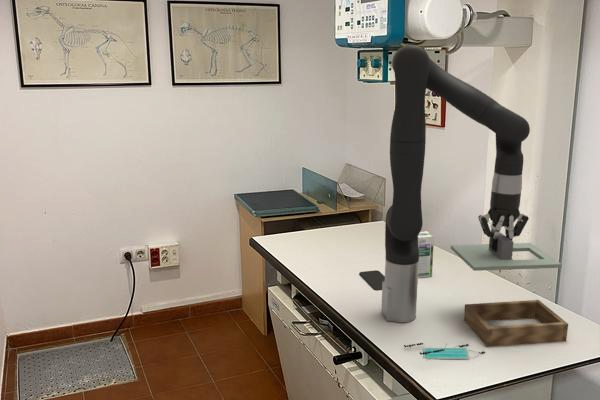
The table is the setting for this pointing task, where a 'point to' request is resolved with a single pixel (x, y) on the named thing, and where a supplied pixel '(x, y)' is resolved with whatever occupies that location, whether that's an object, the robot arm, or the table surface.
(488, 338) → the wooden frame
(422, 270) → the syrup box
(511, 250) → the lid
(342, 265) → the table surface
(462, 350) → the surgical mask
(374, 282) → the phone
